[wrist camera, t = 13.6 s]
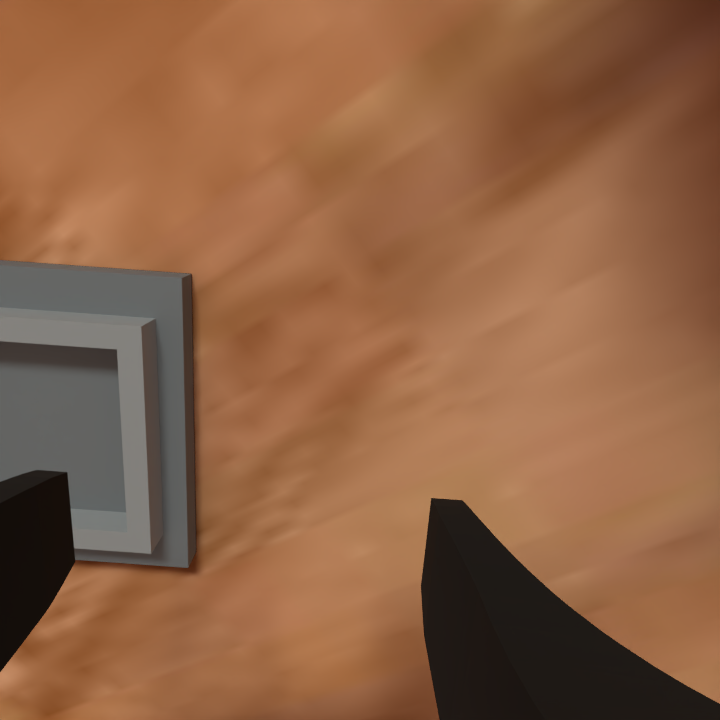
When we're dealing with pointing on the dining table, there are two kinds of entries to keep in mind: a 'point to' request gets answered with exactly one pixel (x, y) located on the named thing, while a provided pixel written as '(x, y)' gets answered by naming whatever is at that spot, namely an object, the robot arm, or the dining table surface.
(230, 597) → the dining table surface
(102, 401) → the socket board
